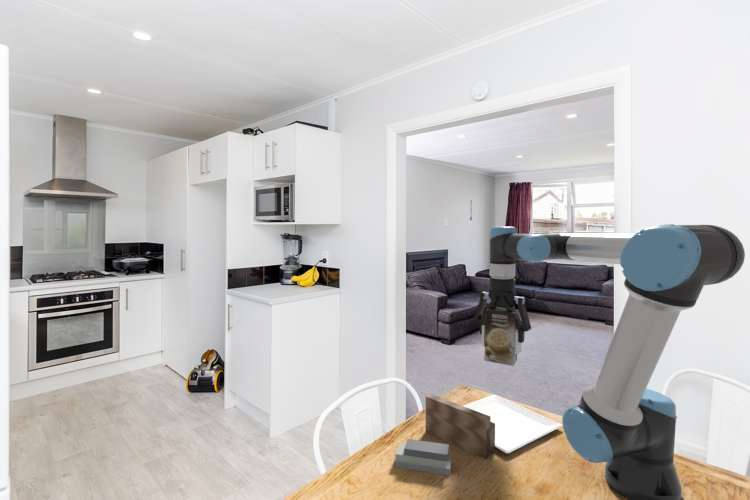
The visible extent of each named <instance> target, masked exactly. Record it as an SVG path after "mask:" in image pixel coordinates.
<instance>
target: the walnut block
mask: <svg viewBox="0 0 750 500" xmlns="http://www.w3.org/2000/svg"><path fill="white" fill-rule="evenodd" d="M490 419H491V416H488V415H485V414H483V413H480V412H477V411H475V410H472V409H469V408H467V407H464V405H461V404H458V403H456V402H453V401H450V400H448V399H446V398H442V397H439V396H437V395H435V394H432V393H430V394H427V395H426V396H425V432H426V433H428V434H430V435H432V436H434V437H437V438H438V439H441V440H443V441H445V442H446V443H449V444H452V445H454V446H456V447H458V448H460V449H463V450H464V451H467V452H469V453H471V454H473V455H476V456H477V457H480V458H482V459H484V460H487V459H488V458H490V456H491V455H493V454H494V453H495V451H496V450H495V449H496V447H495V423H493V422H490Z"/></svg>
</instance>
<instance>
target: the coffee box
mask: <svg viewBox="0 0 750 500" xmlns="http://www.w3.org/2000/svg"><path fill="white" fill-rule="evenodd" d="M515 310H516V311H515V312H513V313H512V312H508V311H507V310H506V308H501V307H496V308H493V309H490V308H488V307H487V308H486V310H485V312H486V317H485V346H484V355H483V356H484V357H483V358H484V359H483V361H484V362H489V363H494V364H499V365H500V364H501V365H506V366H512V367H515V364H516V363H517V360H518V354H515V332H516V331H518V330H517V328H516V326H515V324H516V316H517V313H518V315H519V316H520V313H519V310H518V309H517V308H515Z"/></svg>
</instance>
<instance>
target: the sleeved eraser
mask: <svg viewBox="0 0 750 500" xmlns="http://www.w3.org/2000/svg"><path fill="white" fill-rule="evenodd" d="M449 451H450V444H448V443H447V444H446V443H441V442H432V441H425V440H418V439H410V438H407V439H406V442H405V444H402V443H399V444H398V447H397V449H396V451H395V453H394V454H395V457H394V458H395V461H394V462H395V465H394V466H395V467H396V468H402V469H409V470H414V471H420V472H428V473H433V474H440V475H447V476H451V471H452V463H453V462H452V461H453V460H452V457H449V453H450V452H449Z"/></svg>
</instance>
